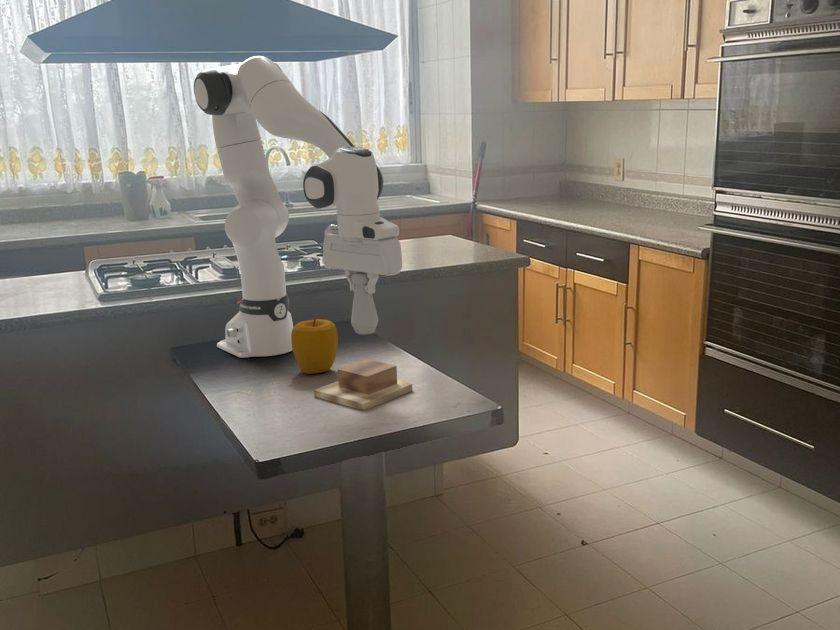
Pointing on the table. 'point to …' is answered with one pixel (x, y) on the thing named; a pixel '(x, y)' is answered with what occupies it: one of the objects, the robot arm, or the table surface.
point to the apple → (314, 345)
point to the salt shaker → (363, 306)
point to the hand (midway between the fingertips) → (362, 292)
